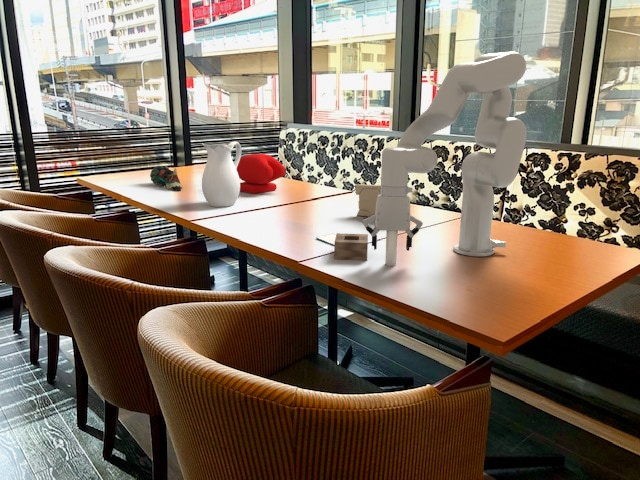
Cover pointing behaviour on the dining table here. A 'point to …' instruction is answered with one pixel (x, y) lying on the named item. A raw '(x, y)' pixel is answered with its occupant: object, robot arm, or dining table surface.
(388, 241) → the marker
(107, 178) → the dining table surface
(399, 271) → the dining table surface
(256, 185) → the toy
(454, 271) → the dining table surface
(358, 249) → the socket block
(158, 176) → the sculpture
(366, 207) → the gun
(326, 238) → the smartphone
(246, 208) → the dining table surface
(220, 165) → the pitcher
